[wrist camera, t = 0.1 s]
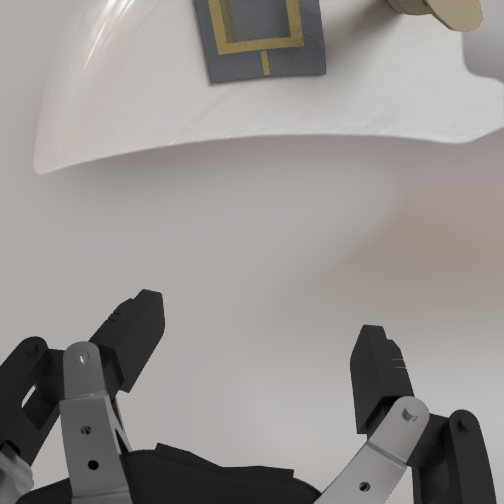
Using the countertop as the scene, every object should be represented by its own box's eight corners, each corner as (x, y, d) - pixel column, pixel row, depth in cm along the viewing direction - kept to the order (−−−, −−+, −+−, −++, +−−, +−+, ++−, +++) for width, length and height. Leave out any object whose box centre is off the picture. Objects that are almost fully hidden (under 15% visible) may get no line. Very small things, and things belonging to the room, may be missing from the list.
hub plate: (190, -39, 20) (178, -43, 18) (308, -57, 17) (308, -64, 15) (214, 81, 33) (205, 87, 30) (326, 72, 30) (327, 77, 27)
